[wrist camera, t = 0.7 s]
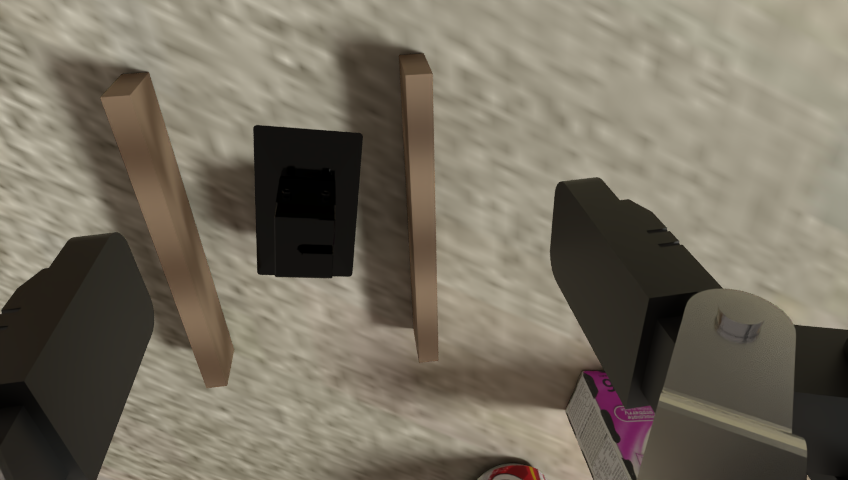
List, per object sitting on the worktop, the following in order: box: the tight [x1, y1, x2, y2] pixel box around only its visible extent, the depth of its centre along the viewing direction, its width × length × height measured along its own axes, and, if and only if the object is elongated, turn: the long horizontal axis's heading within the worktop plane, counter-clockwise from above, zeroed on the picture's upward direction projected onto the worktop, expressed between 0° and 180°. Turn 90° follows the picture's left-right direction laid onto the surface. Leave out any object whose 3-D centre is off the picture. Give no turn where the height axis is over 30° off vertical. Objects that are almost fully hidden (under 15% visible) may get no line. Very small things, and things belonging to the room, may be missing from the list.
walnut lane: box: [100, 53, 438, 388], centre depth 31 cm, size 18×14×3 cm
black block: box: [253, 125, 363, 278], centre depth 30 cm, size 12×7×5 cm, turn 172°
